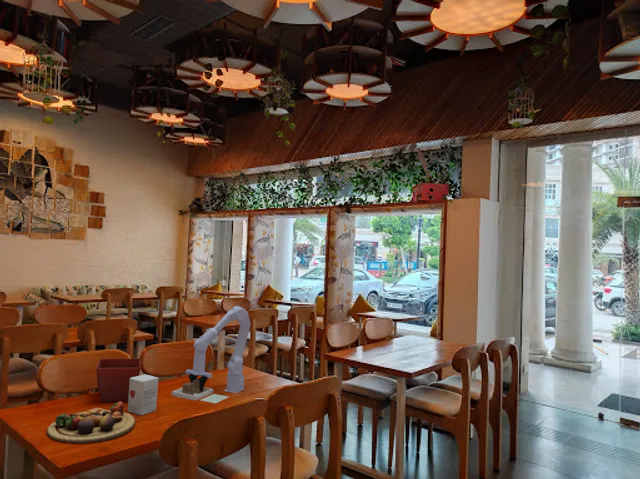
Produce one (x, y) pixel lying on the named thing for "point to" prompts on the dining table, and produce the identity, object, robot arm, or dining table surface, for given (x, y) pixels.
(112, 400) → the plant pot
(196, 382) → the labelled block
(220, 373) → the dining table surface
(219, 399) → the sage mat
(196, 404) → the dining table surface
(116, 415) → the wooden plate with food
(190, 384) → the plain block
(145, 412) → the supplement box
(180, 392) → the parts tray
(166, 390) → the dining table surface
